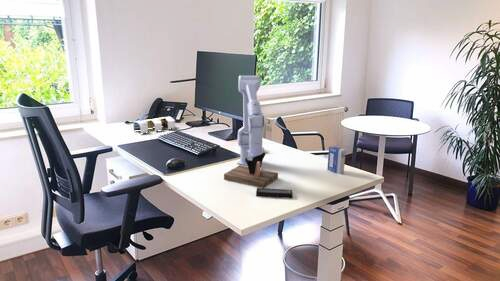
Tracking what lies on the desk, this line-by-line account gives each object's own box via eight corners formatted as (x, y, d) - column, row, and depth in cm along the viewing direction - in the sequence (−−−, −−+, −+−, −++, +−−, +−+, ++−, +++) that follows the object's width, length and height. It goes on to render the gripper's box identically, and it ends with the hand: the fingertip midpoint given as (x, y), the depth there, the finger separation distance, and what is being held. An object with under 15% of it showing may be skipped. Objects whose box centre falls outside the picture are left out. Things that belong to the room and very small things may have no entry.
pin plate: (239, 170, 184) (239, 165, 183) (277, 177, 175) (278, 172, 174) (223, 179, 172) (223, 174, 171) (263, 188, 163) (264, 182, 162)
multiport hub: (256, 192, 159) (257, 187, 158) (292, 194, 158) (292, 189, 157) (255, 197, 155) (256, 191, 154) (292, 199, 153) (292, 193, 153)
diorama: (140, 135, 244) (139, 115, 241) (133, 132, 252) (132, 112, 248) (175, 129, 261) (174, 110, 257) (167, 126, 268) (166, 108, 264)
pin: (251, 177, 175) (251, 160, 173) (259, 178, 174) (260, 161, 172) (248, 180, 171) (248, 163, 169) (256, 181, 170) (257, 164, 168)
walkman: (327, 169, 186) (329, 146, 183) (331, 168, 188) (332, 145, 184) (339, 174, 180) (341, 150, 177) (343, 173, 182) (345, 149, 178)
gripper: (253, 136, 176) (252, 165, 179) (240, 145, 163) (240, 175, 166) (267, 138, 173) (266, 167, 177) (256, 147, 160) (256, 177, 164)
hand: (255, 171), depth 171 cm, fingers open, 7 cm apart
